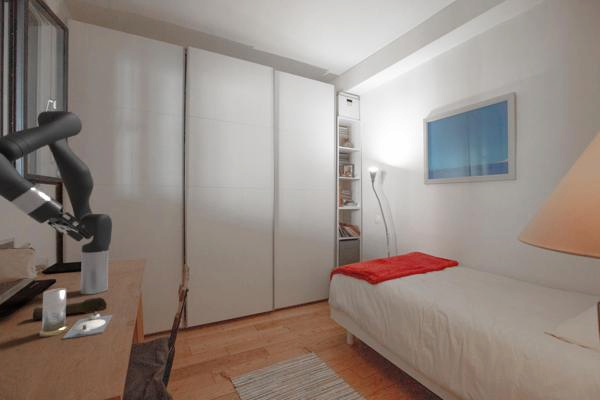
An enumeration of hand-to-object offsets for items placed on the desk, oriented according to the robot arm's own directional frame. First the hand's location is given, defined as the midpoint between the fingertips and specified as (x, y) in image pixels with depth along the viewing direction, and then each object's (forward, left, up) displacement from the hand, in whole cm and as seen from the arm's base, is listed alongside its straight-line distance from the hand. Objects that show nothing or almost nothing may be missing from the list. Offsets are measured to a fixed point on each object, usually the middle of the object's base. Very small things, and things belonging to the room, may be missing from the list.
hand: (85, 238), depth 89 cm
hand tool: (-4, -4, -26) cm, 27 cm away
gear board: (+11, +4, -26) cm, 28 cm away
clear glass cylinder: (+11, -4, -26) cm, 28 cm away
